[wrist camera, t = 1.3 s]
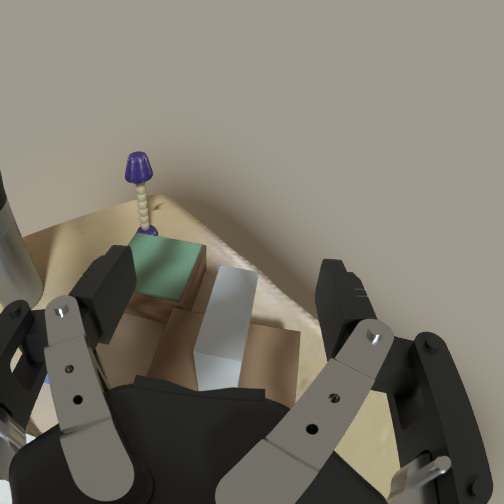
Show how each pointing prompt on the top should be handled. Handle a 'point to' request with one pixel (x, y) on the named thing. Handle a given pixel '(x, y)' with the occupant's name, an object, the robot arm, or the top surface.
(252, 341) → the brown wooden flat slab
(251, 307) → the block
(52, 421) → the top surface
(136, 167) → the toy lamp
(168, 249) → the plinth
